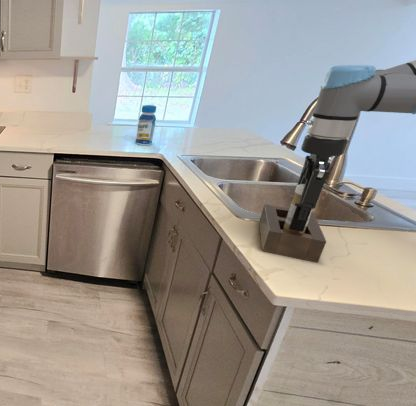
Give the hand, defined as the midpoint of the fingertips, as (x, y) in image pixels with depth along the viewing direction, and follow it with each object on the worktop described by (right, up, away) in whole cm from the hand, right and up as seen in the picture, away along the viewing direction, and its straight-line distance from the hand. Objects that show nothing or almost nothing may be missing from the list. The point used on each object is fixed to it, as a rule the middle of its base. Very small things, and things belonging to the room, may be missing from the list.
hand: (294, 225), depth 94 cm
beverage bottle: (+9, +38, +104) cm, 111 cm away
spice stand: (+3, -4, +6) cm, 8 cm away
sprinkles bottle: (0, -3, +1) cm, 3 cm away
